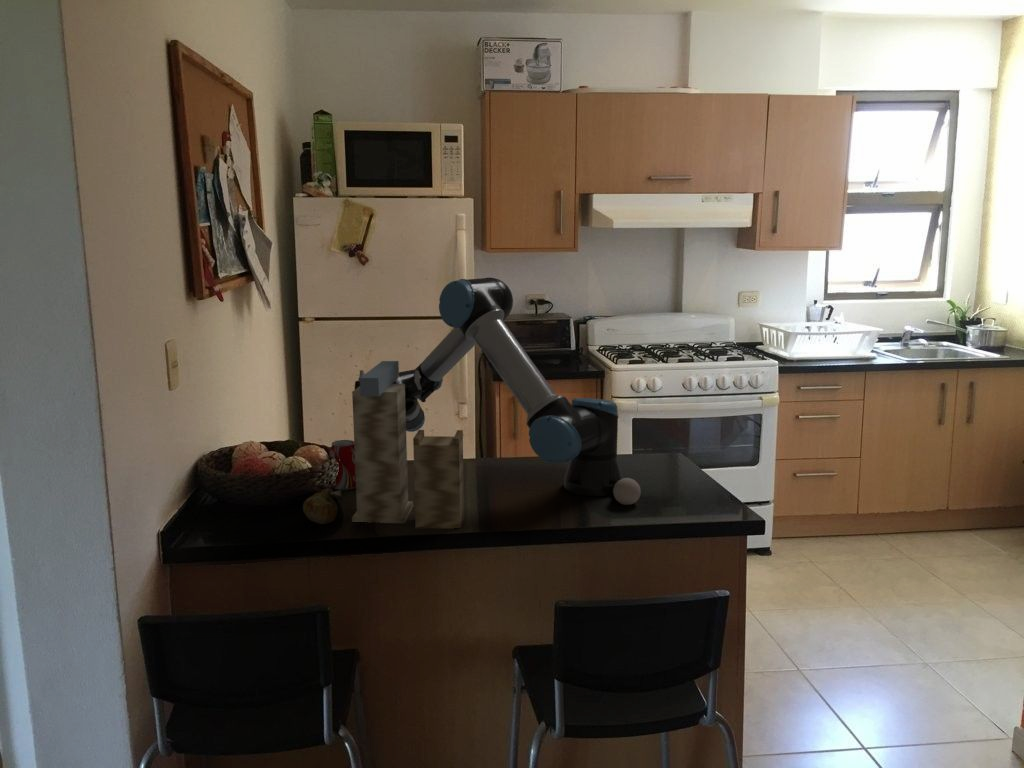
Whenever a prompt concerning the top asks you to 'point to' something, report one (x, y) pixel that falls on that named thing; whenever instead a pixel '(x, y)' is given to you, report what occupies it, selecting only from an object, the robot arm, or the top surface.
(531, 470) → the top surface
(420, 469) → the rest block
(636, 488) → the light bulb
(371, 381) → the rod
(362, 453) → the stand
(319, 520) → the onion
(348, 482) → the soda can
